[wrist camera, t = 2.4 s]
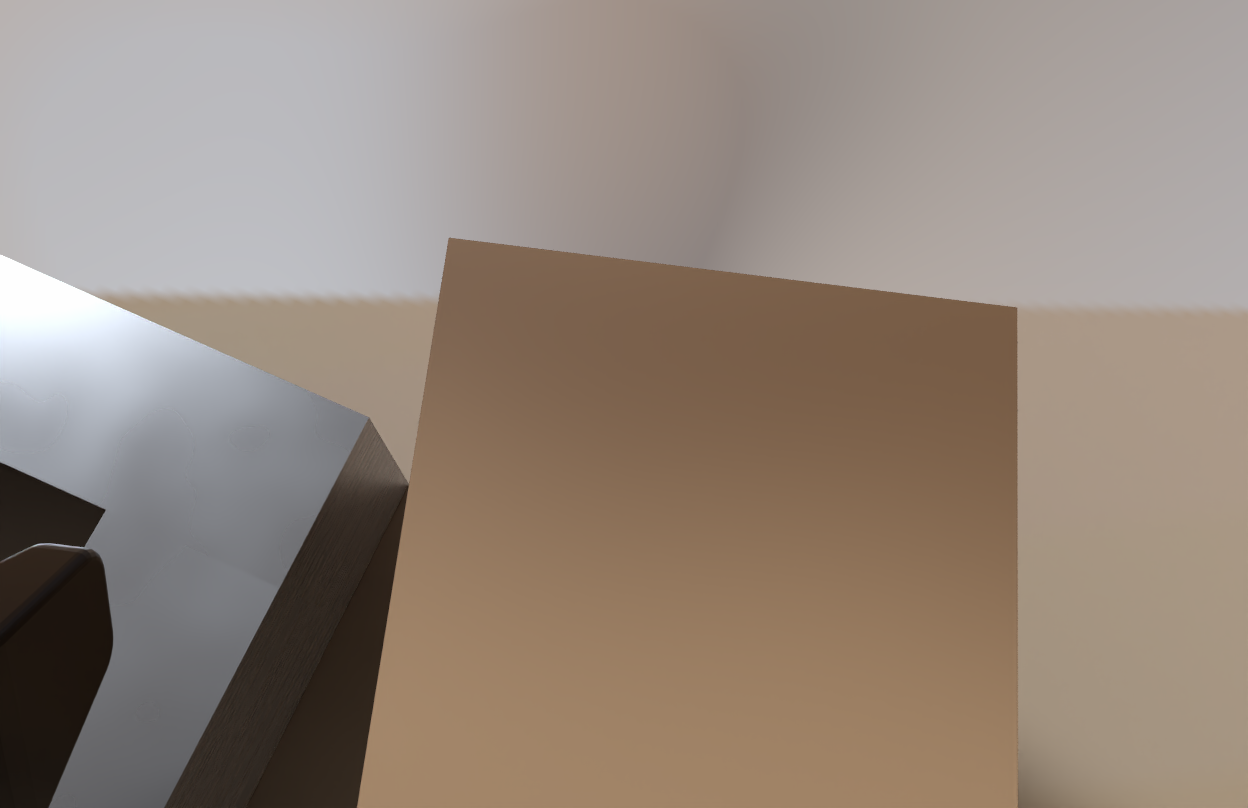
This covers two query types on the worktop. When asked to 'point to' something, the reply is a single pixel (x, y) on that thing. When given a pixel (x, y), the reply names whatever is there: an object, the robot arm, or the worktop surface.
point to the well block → (189, 535)
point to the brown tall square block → (702, 546)
